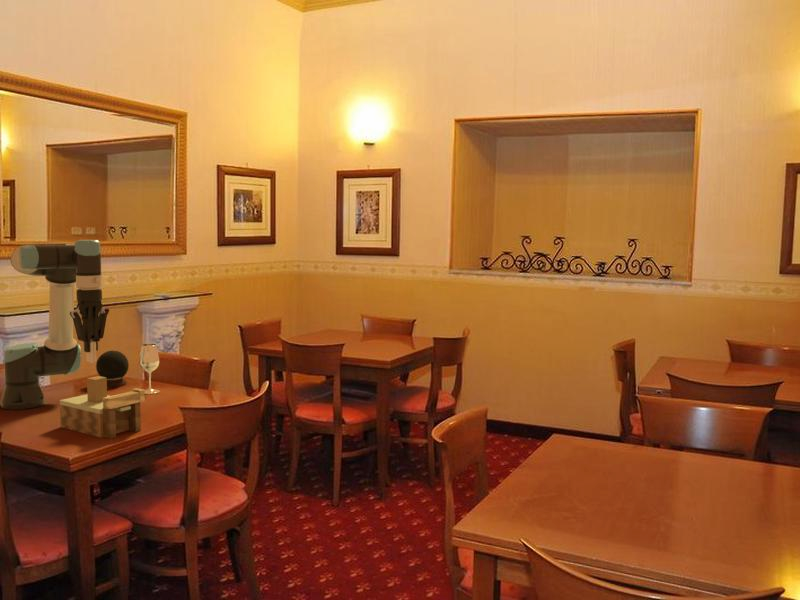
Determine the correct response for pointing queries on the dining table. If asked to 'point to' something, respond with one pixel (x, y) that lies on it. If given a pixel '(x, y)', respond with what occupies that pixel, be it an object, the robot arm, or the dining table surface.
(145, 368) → the wineglass
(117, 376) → the dark ball on base
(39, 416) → the dining table surface
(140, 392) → the light wooden bar
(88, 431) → the wooden box
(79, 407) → the lid
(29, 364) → the robot arm
